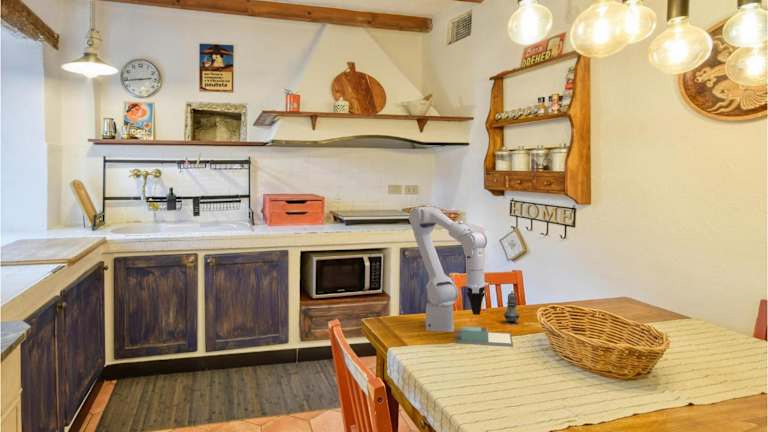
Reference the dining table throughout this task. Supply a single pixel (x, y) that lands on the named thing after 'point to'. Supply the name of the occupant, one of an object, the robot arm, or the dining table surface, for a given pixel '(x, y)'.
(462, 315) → the dining table surface
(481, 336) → the teal block
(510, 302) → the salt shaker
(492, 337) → the mat
